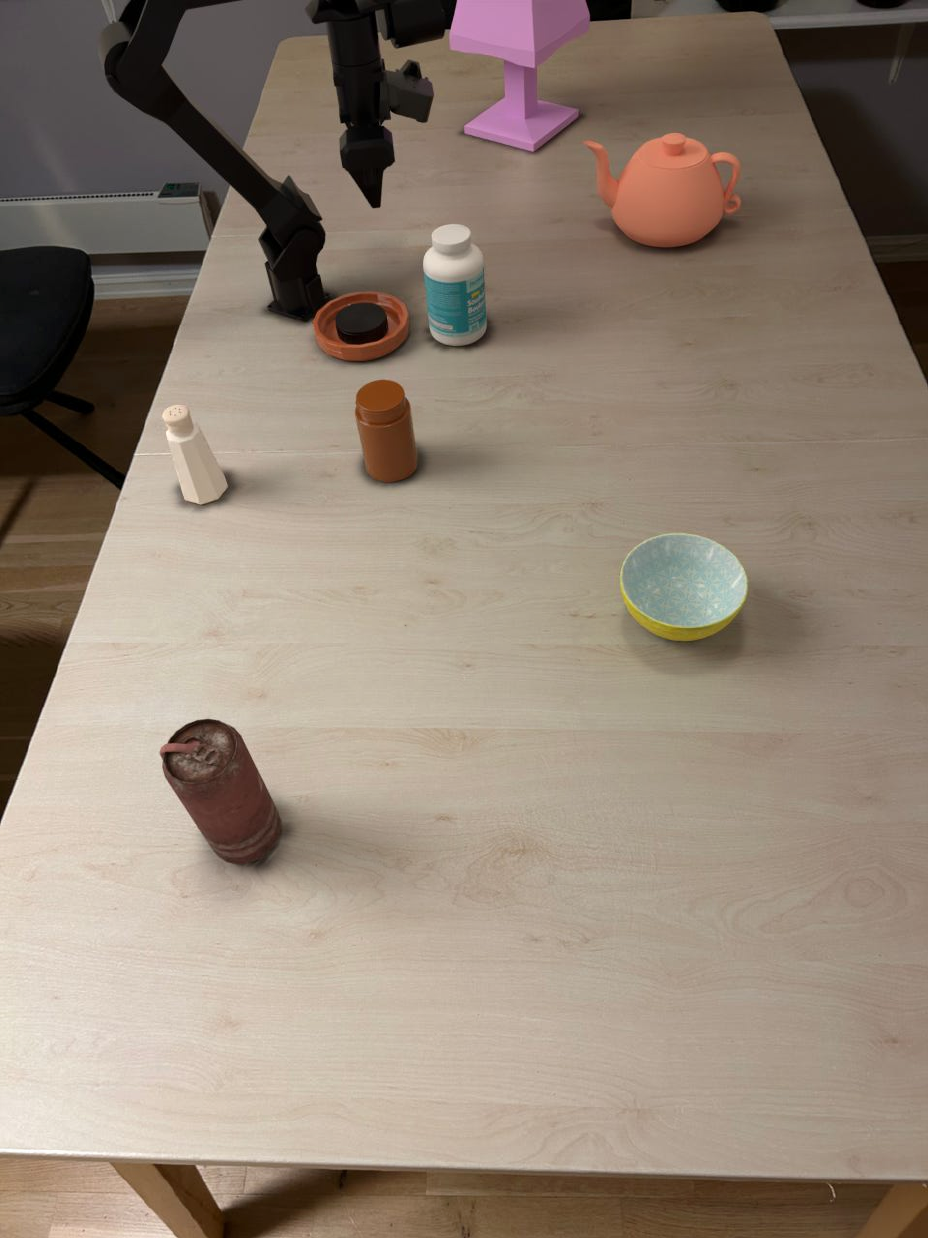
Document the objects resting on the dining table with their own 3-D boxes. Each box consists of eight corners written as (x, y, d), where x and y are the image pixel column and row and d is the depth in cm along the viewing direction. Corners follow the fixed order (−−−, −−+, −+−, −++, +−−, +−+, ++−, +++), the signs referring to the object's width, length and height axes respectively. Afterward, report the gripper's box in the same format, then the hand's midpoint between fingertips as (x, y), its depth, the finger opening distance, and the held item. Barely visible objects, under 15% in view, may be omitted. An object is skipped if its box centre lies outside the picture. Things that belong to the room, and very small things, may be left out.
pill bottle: (481, 350, 118) (475, 252, 108) (424, 347, 120) (413, 249, 109) (492, 316, 123) (487, 218, 112) (437, 312, 124) (427, 215, 113)
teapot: (578, 255, 130) (580, 166, 120) (582, 197, 140) (585, 111, 130) (740, 255, 127) (756, 165, 118) (733, 197, 137) (748, 108, 127)
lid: (389, 343, 120) (387, 329, 118) (337, 348, 120) (335, 334, 118) (387, 313, 124) (385, 299, 122) (337, 318, 124) (334, 304, 122)
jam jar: (355, 472, 106) (340, 403, 98) (384, 440, 109) (372, 371, 101) (399, 488, 104) (388, 419, 96) (428, 455, 107) (419, 386, 99)
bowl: (708, 686, 85) (718, 646, 80) (595, 637, 89) (598, 596, 84) (755, 601, 91) (767, 559, 86) (646, 559, 95) (652, 516, 90)
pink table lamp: (509, 96, 162) (502, -159, 135) (586, 115, 156) (595, -149, 128) (456, 134, 155) (437, -128, 127) (535, 155, 149) (533, -116, 121)
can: (211, 804, 81) (159, 719, 70) (283, 796, 81) (243, 710, 70) (205, 870, 77) (149, 791, 66) (281, 862, 77) (238, 781, 66)
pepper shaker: (210, 465, 108) (182, 388, 100) (238, 487, 106) (211, 410, 97) (171, 489, 106) (139, 413, 97) (198, 512, 104) (167, 436, 95)
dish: (298, 348, 121) (294, 331, 119) (352, 299, 127) (349, 282, 125) (376, 373, 117) (373, 357, 115) (427, 321, 123) (425, 304, 121)
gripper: (431, 82, 101) (443, 219, 114) (420, 17, 113) (432, 148, 125) (329, 94, 101) (352, 229, 113) (328, 27, 113) (349, 157, 125)
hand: (375, 189), depth 119 cm, fingers open, 9 cm apart
